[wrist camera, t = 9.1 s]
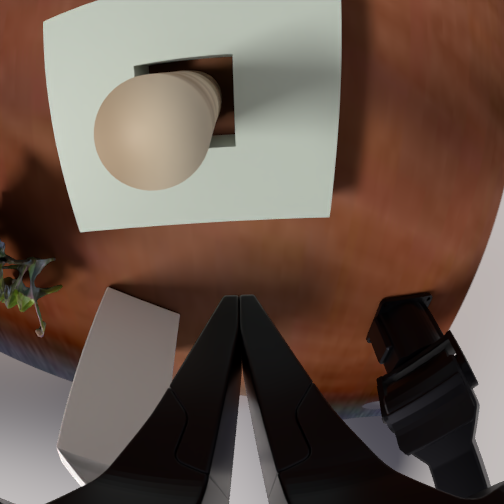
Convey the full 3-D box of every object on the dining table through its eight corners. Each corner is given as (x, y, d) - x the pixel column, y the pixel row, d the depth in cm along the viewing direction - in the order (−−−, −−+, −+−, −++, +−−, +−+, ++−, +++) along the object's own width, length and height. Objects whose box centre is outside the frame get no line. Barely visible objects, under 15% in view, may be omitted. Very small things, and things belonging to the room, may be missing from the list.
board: (323, -5, 12) (340, -16, 10) (317, 196, 20) (329, 217, 18) (67, 24, 11) (43, 21, 9) (96, 210, 19) (80, 232, 17)
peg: (221, 67, 15) (209, 64, 7) (224, 125, 17) (217, 187, 9) (160, 74, 15) (84, 86, 6) (165, 130, 17) (104, 197, 9)
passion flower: (23, 190, 23) (-47, 161, 11) (99, 241, 25) (41, 234, 13) (-14, 284, 22) (-86, 296, 10) (56, 340, 24) (-5, 385, 12)
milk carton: (97, 329, 27) (55, 503, 12) (107, 284, 24) (47, 502, 8) (159, 351, 29) (142, 526, 14) (181, 312, 26) (164, 531, 10)
